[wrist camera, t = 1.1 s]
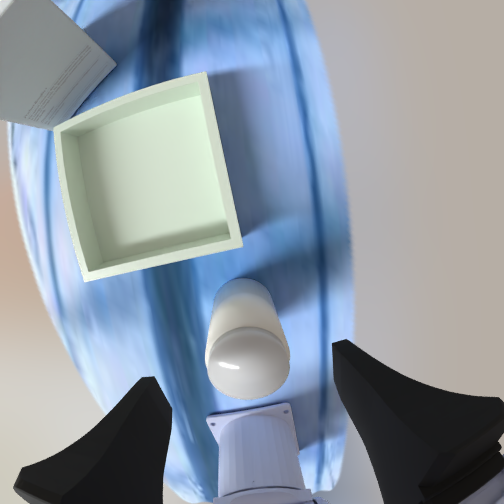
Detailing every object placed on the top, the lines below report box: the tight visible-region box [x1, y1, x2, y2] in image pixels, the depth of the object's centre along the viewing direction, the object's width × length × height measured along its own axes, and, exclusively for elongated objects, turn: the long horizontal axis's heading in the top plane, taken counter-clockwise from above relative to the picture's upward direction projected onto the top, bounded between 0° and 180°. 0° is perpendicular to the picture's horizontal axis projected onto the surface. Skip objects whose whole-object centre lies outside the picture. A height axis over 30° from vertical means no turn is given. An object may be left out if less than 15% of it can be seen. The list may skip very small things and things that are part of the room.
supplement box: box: [0, 0, 117, 131], centre depth 9 cm, size 7×7×13 cm
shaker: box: [205, 278, 290, 400], centre depth 17 cm, size 4×4×8 cm
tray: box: [53, 72, 243, 282], centre depth 16 cm, size 11×11×3 cm
